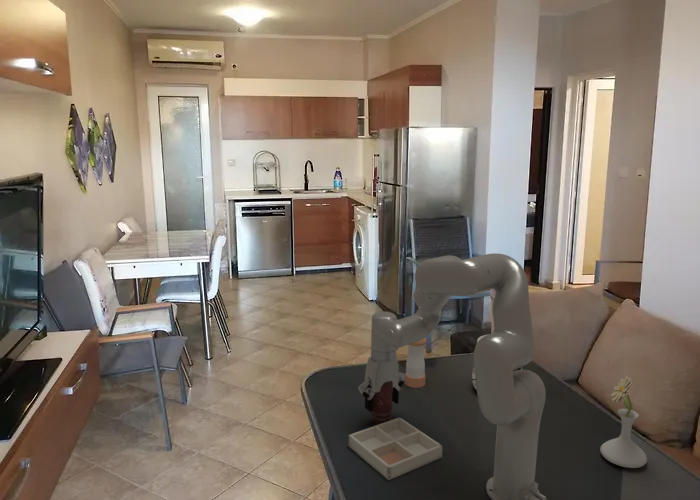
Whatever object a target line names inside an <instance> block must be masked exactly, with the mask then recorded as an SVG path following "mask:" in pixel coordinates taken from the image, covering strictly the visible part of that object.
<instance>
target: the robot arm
mask: <svg viewBox="0 0 700 500" xmlns="http://www.w3.org/2000/svg"><path fill="white" fill-rule="evenodd" d="M414 280H415V284H416V286H417V287H416V289H415V290H414V292H413V300H414V302H415V304H416V306H417V307H418V309H417V311H416V312H415V313H413V315H410V316H406V317H403V318H400V319H398V318H397V315H396V314H394V313H393V312H389V311H378V312H374V313H373V314H372V317H371V327H370V328H371V334H370V335H371V336H370V337H371V339H370V356H369V357H368V359H367V361H366V367H365V376H364V381H363V382H362V383H361V384H360V385H358V386H357V389H358V391H359V393H360V395H362V396H363V398H364V408H365V409H366V411H368V412H369V413H372V412H373V399H372V397H373V396H374V394H375V393H377V392H380V390H381V386H382V385H383V383H389V382H390V381H392V382H393V392H392V403H395V405H396V404H397V405H398V404H399V399H400V398H399V397H400V396H399V394H400V391H401V390H402V389H401V388H402V386H403V385H404V384H405V377H406V375H405V373H403V372H401V371H400V367H399V366H400V365H399V359H398V356H397V351H398V350H399V349H400V348H402V347H406V346H408V345H409V344H411V343H414V342H417V341H420V340H422V339H424V338H426V339H427V337H428V336H429V335H431V333H432V332H433V331H434V329H435V328H436V327H437V325H439V324H440V321H441V317H442V309H443V308H444V306H445V305H446V304H447V303H448V301H449V300H450V299H451V297H471V296H475V295H478V294H482V293H485V292H489V291H492V290H493V291H494V292H495V294H494V298H493V303H492V309H491V310H492V319H493V331H492V332H491V333H488V334H485V335H486V336H484V335H483V336H484V337H483V338H481V339H480V340H479V341H478V343H477V342H476V344H475V346H474V351H473V369H474V370H475V378H476V387H477V390H476V393H477V394H476V395H477V401H478V404H479V407H480V410H481V413H482V414H483V416H484V417H485V418H486V419H487V421H489V422H490V423H491V424H493V425H496V434H495V436H496V437H495V448H494V462H493V463H494V465H493V476H491V477H490V478H489V479H488V480H487V482H486V484H485V488H486V489H485V490H486V493H487V496H488V497H489V499H491V500H547V496H545V495H543V494H542V493H540V490H539V483H537V481H535V478H536V467H537V456H538V446H539V445H538V443H539V436H540V435H539V434H540V425H541V419H542V415H543V412H544V411H543V410H544V407H545V405H546V404H545V403H546V395H547V394H546V386H545V384H544V381H543V379H542V378H541V377H540V376H539V375H538V374H537V373H535V372H533V371H532V370H528V369H522V370H517V371H514V370H516V369H518V368H520V367H522V368H523V367H525V366H526V365H527V364H529V363H530V362H532V361H533V358H534V357H535V352H536V350H535V340H534V339H535V338H534V331H533V323H532V316H531V315H532V314H531V307H530V291H529V281H528V280H529V279H528V277H527V274H526V272H525V270H524V268H523V266H522V265H521V264H520V263H519V262H518V261H517V260H516V259H515V258H513V257H512V256H509V255H507V254H503V253H495V252H494V253H487V254H483V255H482V254H481V255H478V256H474V257H469V258H465V259H462V258H461V257H458V256H456V255H443V256H438V257H433V258H428V259H426V260H423V261H422V262H421V263H420V264H419V265H418V266H417V268H416V269H415V273H414ZM513 371H514V372H513Z"/></svg>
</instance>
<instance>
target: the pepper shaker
mask: <svg viewBox="0 0 700 500" xmlns="http://www.w3.org/2000/svg"><path fill="white" fill-rule="evenodd" d="M427 341H428V340H427V337H426V338H424V339H422V340H420V341H417V342H414V343H411V344H409V345H407V346H408V350H407V351H408V352H407V359H406V364H405V373H404V374H405V375H406V377H405V380H404V385H405V386H407V387H409V388H412V389H413V388H414V389H418V388H423V387H424V386H426V372H425V371H426V369H425V368H426V365H425V364H426V363H425V357H424V356H425V344H426V343H427Z"/></svg>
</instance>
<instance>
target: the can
mask: <svg viewBox="0 0 700 500" xmlns="http://www.w3.org/2000/svg"><path fill="white" fill-rule="evenodd" d="M392 392H393V382H392V381H390V382H389V383H383V385H382V386H381V390H380V392H377V393H375V394H374V396H373V397H372V399H373V412H371V422H372V423H373V424H374V426H376V425H379V424H382V423H385V422H388V421H390V420H393V417H392V416H393V415H392V414H393V412H392V411H393V401H392Z"/></svg>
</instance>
